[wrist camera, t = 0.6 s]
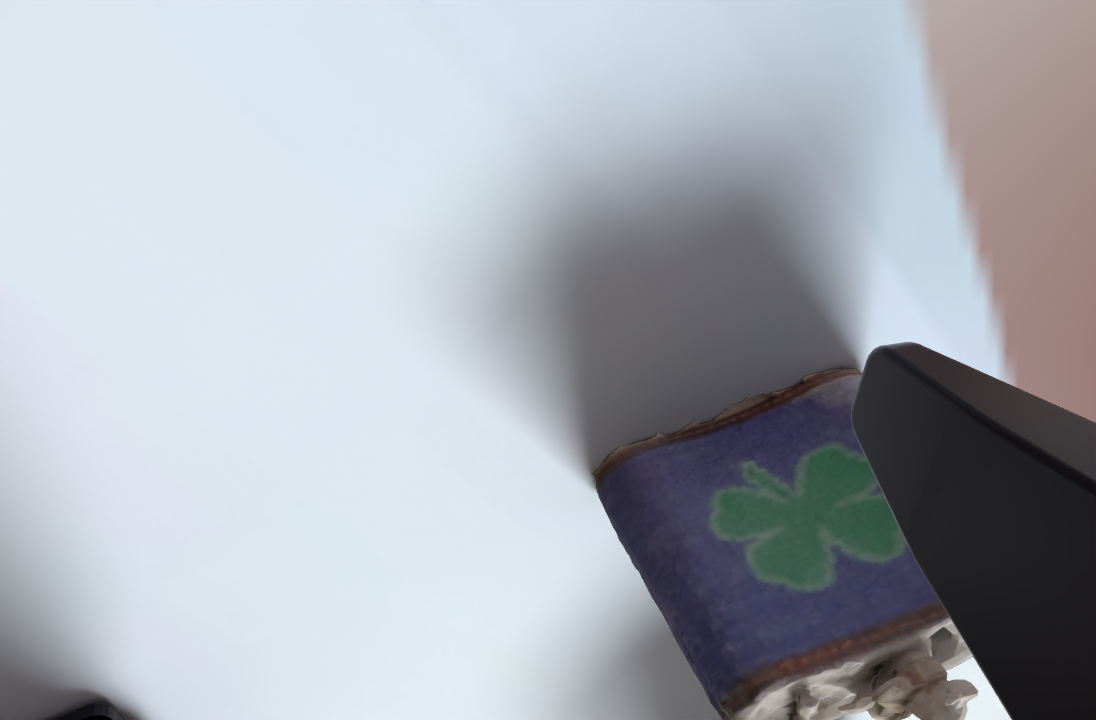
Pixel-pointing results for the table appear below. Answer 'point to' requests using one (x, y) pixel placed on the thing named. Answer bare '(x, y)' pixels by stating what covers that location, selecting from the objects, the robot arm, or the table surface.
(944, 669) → the flask
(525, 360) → the table surface
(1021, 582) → the robot arm
